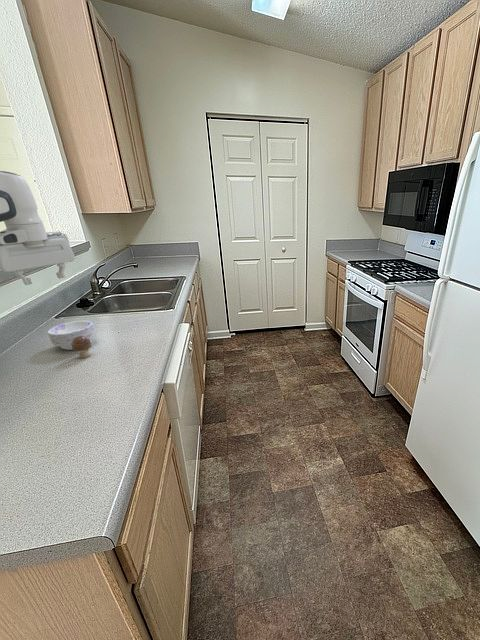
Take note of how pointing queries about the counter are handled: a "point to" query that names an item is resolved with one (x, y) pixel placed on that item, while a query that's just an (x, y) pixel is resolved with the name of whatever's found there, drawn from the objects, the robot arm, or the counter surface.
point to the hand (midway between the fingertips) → (45, 281)
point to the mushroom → (82, 346)
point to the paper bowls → (71, 333)
